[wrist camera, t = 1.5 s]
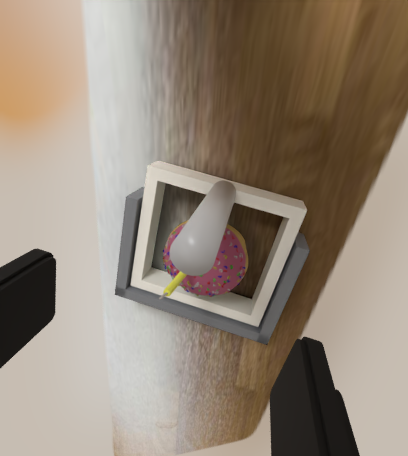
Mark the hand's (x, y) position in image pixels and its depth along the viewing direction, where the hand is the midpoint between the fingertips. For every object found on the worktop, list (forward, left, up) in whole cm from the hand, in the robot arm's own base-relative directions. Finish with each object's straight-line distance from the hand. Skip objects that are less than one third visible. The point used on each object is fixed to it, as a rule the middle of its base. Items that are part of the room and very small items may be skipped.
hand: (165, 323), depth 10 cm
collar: (+6, 0, -20) cm, 21 cm away
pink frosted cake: (+6, 0, -21) cm, 22 cm away
